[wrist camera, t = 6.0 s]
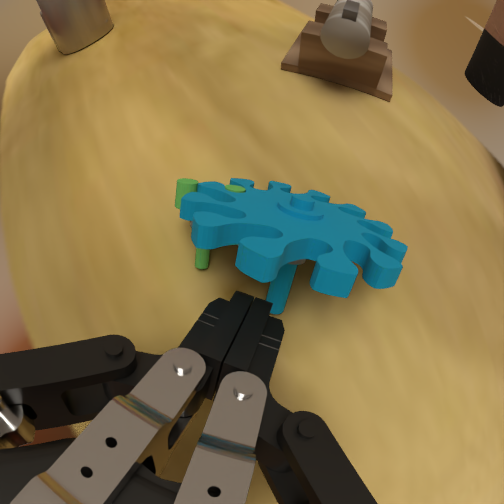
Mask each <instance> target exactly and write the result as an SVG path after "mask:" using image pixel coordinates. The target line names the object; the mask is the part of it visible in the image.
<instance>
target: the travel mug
mask: <svg viewBox="0 0 504 504" xmlns="http://www.w3.org/2000/svg"><path fill="white" fill-rule="evenodd" d="M465 76H466V78H467V80H468V81H469V82H470V83H471V85H472V86H473V87H474V88H475V89H476V90H477V91H478V92H479V93H480V94H481V95H482V96H484V97H485V98H486V99H487V100H489V101H490V102H492V103H493V104H495V105H497V106H500V107H502V106H503V105H504V0H497V1H496V4H495V6H494V8H493V10H492V13H491V15H490V17H489V19H488V22H487V24H486V26H485V29H484V30H483V33H482V35H481V37H480V40H479V42H478V44H477V47H476V49H475V51H474V53H473V55H472V58H471V60H470V62H469V64H468V66H467V68H466V70H465Z"/></svg>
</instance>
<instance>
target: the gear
mask: <svg viewBox="0 0 504 504" xmlns="http://www.w3.org/2000/svg"><path fill="white" fill-rule="evenodd" d="M290 191H291V186H290V185H288V184H284V183H280V182H275V181H269V185H268V190H258V189H254V182H253V181H251V180H247V179H238V178H231V180H230V185H226V186H224V185H223V184H221V183H219V182H203V183H198V181H196V180H193V179H178V180H177V188H176V198H175V207H176V208H178V209H180V218H182V219H184V220H188V221H190V226H191V227H192V233H191V239H192V241H193V243H194V245H195V247H196V258H195V267H197V268H199V269H206V268H207V267H208V263H209V255H210V249H215V248H219V247H222V246H227V245H237V246H238V252H237V258H236V263H235V266H236V267H237V268H238V269H239V270H240V271H242V272H243V273H244V274H246V275H248V276H250V277H251V278H253V279H255V280H257V281H259V282H261V283H266V282H270V281H271V282H270V286H269V290H268V294H267V298H266V301H268V302H271V303H273V306H272V308H271V311H270V313H272V314H281V313H282V312H283V311H284V307H285V304H286V301H287V298H288V295H289V291H290V288H291V285H292V281H293V278H294V275H295V271H296V268H297V265H300V264H303V263H304V262H305V261H306V259H310V260H314V261H316V264H315V267H314V270H313V273H312V276H311V279H310V286H311V288H312V289H313V290H315V291H318V292H320V293H324V294H327V295H332V296H337V297H343V298H347V297H348V296H349V294H350V291H351V289H352V287H353V284H354V282H355V279H356V277H357V275H358V268H357V267H356V266H355V265H354V264H353V263H352V262H351V261H353V262H355V263H357V264H358V265H360V266H361V267H362V269H363V274H362V277H363V279H364V281H365V282H366V283H367V284H368V285H370V286H371V287H373V288H377V289H384V288H389V287H392V286H394V285H395V283H396V281H397V279H398V277H399V274H400V272H401V270H402V268H403V266H402V264H401V263H402V260H403V258H404V256H405V253H406V251H407V247H408V246H406V245H405V244H403V243H401V242H399V241H396V240H393V239H391V236H392V233H393V230H392V229H391V227H390V226H389V225H388V224H385V223H383V222H380V221H373V220H368V219H364V218H365V215H366V212H365V211H364V210H362V209H361V208H359V207H357V206H355V205H352V204H332V203H329V200H330V196H328V195H326V194H324V193H321V192H318V191H315V190H309V191H308V193H305V194H292V193H290Z"/></svg>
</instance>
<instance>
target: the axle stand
mask: <svg viewBox="0 0 504 504" xmlns="http://www.w3.org/2000/svg"><path fill="white" fill-rule="evenodd" d="M372 11H373V5H372V2H371V0H337V2H336V3H335V5H334V6H331V5H327V4H322V3H321V4H320V6H319V7H318V8H317V10H316V16H315V22H313V21H308V23H307V24H306V26H305V27H304V29H303V30H302V32H301V33H300V35H299V36H298V38H297V39H296V41H295V42H294V44H293V45H292V47H291V48H290V50H289V51H288V53H287V55H286V56H285V58H284V59H283V61H282V62H281V69H282V70H287V71H292V72H296V73H301V74H305V75H309V76H313V77H317V78H320V79H324V80H328V81H331V82H334V83H338V84H341V85H344V86H347V87H351V88H354V89H357V90H359V91H362V92H365V93H368V94H371V95H374V96H376V97H379V98H381V99H384V100H387V101H389V102H390V99H391V97H392V51H391V50H389V49H387V43H385V42H384V39H385V35H386V31H387V24H386V22H385V21H383V20H380V19H377V18H374V17H372Z"/></svg>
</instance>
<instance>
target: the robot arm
mask: <svg viewBox="0 0 504 504" xmlns="http://www.w3.org/2000/svg"><path fill="white" fill-rule="evenodd" d="M36 1H37V3H38V5H39V7H40V9H41V12H40V15H41V17H42V19H43V21H44V23H45V25H46V27H47V29H48V31H49V33H50V35H51V37H52V39H53V41H54V43H55V44H56V46H57V48H58V50H59V52H61V51H62V53H63V54H70V53H73V52H75V51H78V50H80V49H82V48H84V47H86V46H88V45H90V44H91V43H93V42H95V41H96V40H98V39H99V38H101V37H102V36H104V35H105V34H106V33H108V32H109V31H110V30H111V29H112V27H113V22H112V20H111V17H110V14H109V11H108V9H107V6H106V3H105V0H36ZM272 306H273V303H271V302H268V301H265V300H263V299H260V298H257V297H255V299H254V296H251V295H248V294H246V293H243V292H240V291H236V292H235V293H234V295H233V297H232V298H231V300H230V301H227V300H224V299H222V298H218V299H216V300H214V301H212V302H210V303H209V304H208V306H207V307H206V308H205V310H204V311H203V314H201V316H200V317H199V318H198V321H196V323H195V324H194V326H193V327H192V328H191V330H190V331H189V333H188V334H187V336H186V337H185V338H184V340H183V341H182V343H181V344H180V346H179V347H178V348H174V349H171V350H169V351H167V352H166V353H164V354H163V355H154V354H148V353H143V352H138V351H136V350H135V346H134V345H133V343H132V342H131V341H130V340H129V339H127V338H126V337H123V336H120V335H107V336H102V337H97V338H92V339H87V340H82V341H77V342H71V343H66V344H61V345H55V346H49V347H43V348H37V349H31V350H25V351H19V352H12V353H5V354H0V504H245V502H246V498H247V494H248V490H249V486H250V482H251V478H252V474H253V470H254V466H255V461H256V460H257V461H258V464H259V466H260V468H261V470H262V472H263V474H264V476H265V478H266V480H267V482H268V484H269V486H270V488H271V490H272V492H273V494H274V496H275V498H276V500H277V502H278V503H279V504H377V502H376V501H375V499H374V498H373V496H372V495H371V493H370V492H369V490H368V489H367V487H366V486H365V484H364V483H363V481H362V480H361V478H360V476H359V475H358V473H357V472H356V470H355V469H354V467H353V466H352V464H351V463H350V461H349V460H348V458H347V456H346V455H345V453H344V452H343V450H342V449H341V447H340V445H339V444H338V442H337V441H336V439H335V438H334V436H333V434H332V433H331V431H330V430H329V428H328V426H327V425H326V423H325V422H324V421H323V419H322V418H320V417H319V416H318V415H316V414H314V413H311V412H307V411H298V412H295V413H292V412H290V411H289V410H287V409H286V408H284V407H283V406H281V405H280V404H278V403H277V402H276V401H275V399H274V398H273V397H272V395H271V393H270V389H269V382H270V378H271V375H272V371H273V368H274V365H275V362H276V358H277V355H278V352H279V348H280V345H281V341H282V338H283V334H284V331H285V330H284V327H283V323H282V320H280V319H277V318H274V317H271V316H269V314H270V311H271V308H272ZM215 392H216V393H215ZM214 394H215V397H214V400H213V401H214V403H213V406H212V408H211V411H210V414H209V416H208V419H207V422H206V424H205V427H204V430H203V432H202V435H201V437H200V438H199V441H198V443H197V445H196V448H195V451H194V453H193V456H192V458H191V461H190V464H189V466H188V469H187V471H186V474H185V476H184V479H183V482H182V483H177V482H172V481H168V480H164V479H161V478H159V475H160V474H161V472H162V471H163V469H164V468H165V466H166V464H167V462H168V460H169V457H170V455H171V453H172V451H173V450H174V448H175V447H176V445H177V444H178V442H179V441H180V439H181V438H182V436H183V435H184V433H185V432H186V430H187V428H188V427H189V425H190V424H191V422H192V421H193V419H194V418H195V416H196V414H197V412H198V410H199V408H200V406H201V405H202V403H203V401H204V399H205V398H207V399H210V400H212V398H213V396H214ZM90 420H93V421H92V422H91V423H90V424H89V425H88V426H87V427H86V428H85V429H84V430H83V432H82V433H81V434H80V435H79V436H78V437H77V438H66V439H61V440H56V441H51V442H46V443H41V444H35V445H29V446H22V447H19V446H21V445H24V444H27V443H31V442H32V441H33V440H34V434H35V430H42V429H48V428H54V427H60V426H65V425H71V424H76V423H81V422H86V421H90ZM116 445H117V446H116Z"/></svg>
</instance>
